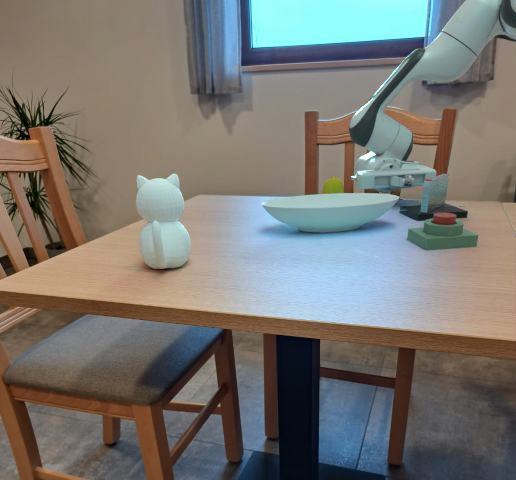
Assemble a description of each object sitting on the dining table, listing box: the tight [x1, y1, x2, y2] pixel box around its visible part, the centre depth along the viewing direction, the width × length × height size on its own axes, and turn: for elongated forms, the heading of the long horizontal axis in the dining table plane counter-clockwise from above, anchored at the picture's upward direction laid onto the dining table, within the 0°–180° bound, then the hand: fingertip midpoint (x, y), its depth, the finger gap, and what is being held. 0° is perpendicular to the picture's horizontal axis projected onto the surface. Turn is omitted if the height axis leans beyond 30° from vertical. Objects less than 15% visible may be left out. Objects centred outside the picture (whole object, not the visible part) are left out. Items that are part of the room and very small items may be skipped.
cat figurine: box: [135, 173, 192, 270], centre depth 78 cm, size 9×12×15 cm
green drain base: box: [406, 218, 479, 251], centre depth 88 cm, size 10×8×4 cm
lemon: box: [321, 175, 345, 194], centre depth 119 cm, size 6×6×8 cm
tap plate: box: [399, 201, 469, 222], centre depth 110 cm, size 16×16×2 cm
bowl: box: [261, 192, 400, 233], centre depth 100 cm, size 30×15×6 cm, turn 97°
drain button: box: [433, 213, 457, 225], centre depth 87 cm, size 4×4×2 cm
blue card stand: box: [420, 173, 450, 213], centre depth 108 cm, size 12×2×7 cm, turn 142°
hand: (408, 182), depth 112 cm, fingers closed
